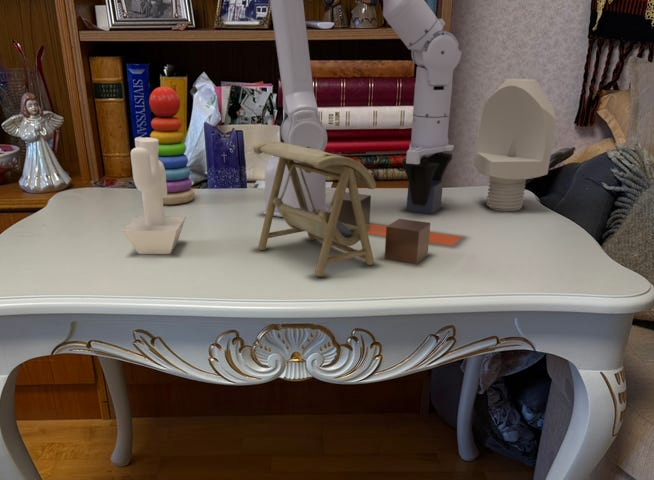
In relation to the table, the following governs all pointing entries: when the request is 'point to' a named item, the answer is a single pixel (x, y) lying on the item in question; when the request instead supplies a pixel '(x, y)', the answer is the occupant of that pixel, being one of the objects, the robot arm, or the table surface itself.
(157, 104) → the stacking toy
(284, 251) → the table surface
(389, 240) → the walnut block
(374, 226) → the line strip
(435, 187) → the slate block
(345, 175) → the swing bench
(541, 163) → the beige tall piece
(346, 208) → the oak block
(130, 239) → the figurine
